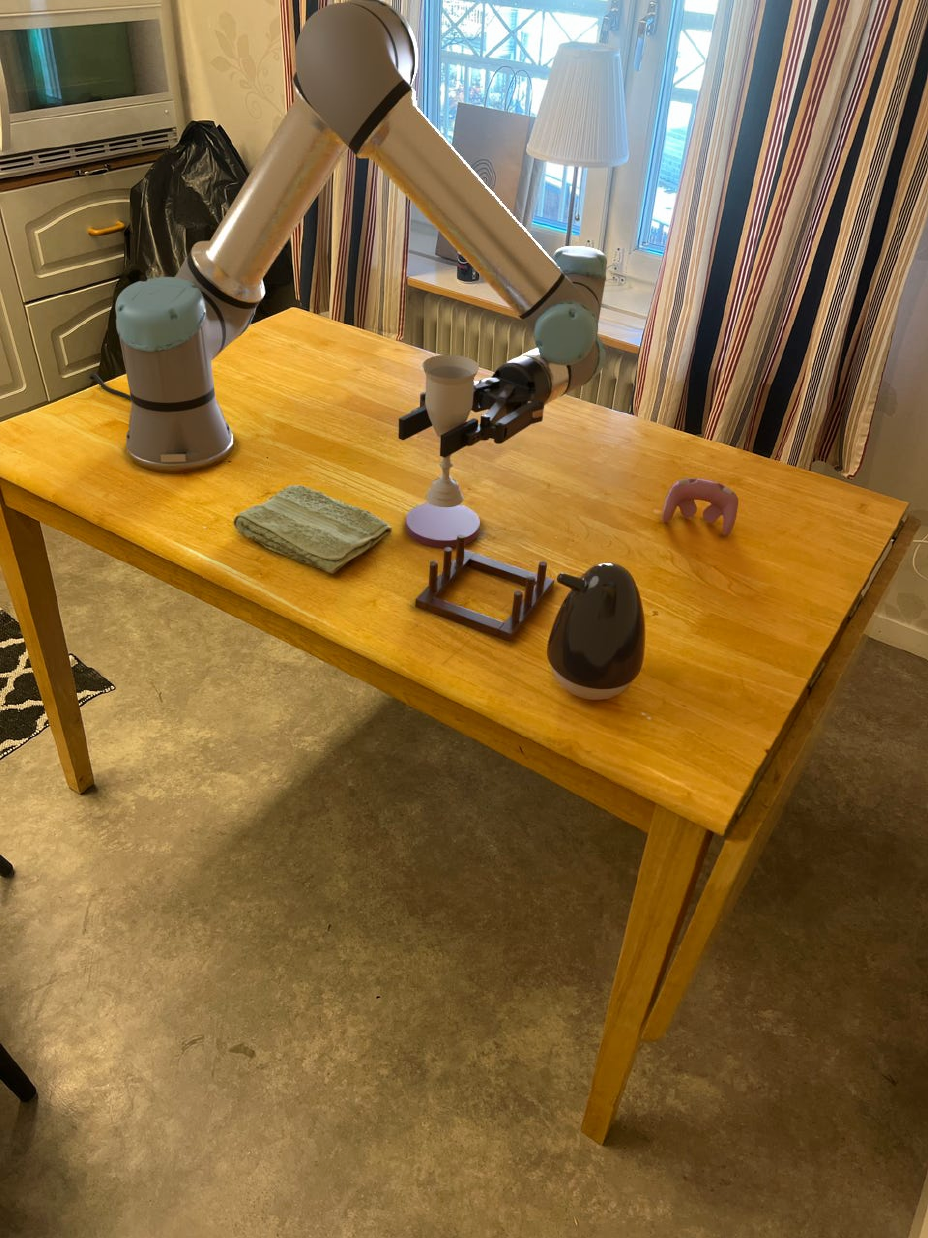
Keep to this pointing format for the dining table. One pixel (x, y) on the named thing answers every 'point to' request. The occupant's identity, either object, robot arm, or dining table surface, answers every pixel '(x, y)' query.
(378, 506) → the dining table surface
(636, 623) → the pump dispenser
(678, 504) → the video game controller
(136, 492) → the dining table surface
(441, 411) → the chalice
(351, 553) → the washcloth
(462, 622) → the drying rack
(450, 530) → the lid
